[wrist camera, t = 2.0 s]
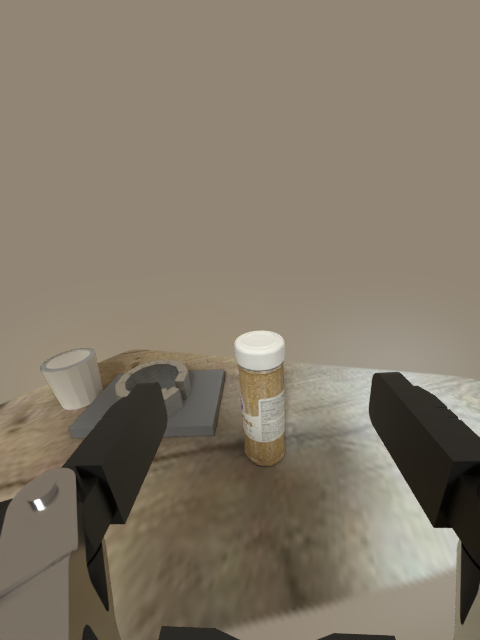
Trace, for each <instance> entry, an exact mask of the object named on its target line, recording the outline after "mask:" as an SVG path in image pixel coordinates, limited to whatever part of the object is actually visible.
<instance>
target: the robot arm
mask: <svg viewBox="0 0 480 640" xmlns="http://www.w3.org/2000/svg"><path fill="white" fill-rule="evenodd" d="M369 415H370V419H371V422H372V425H373V427H374V428H375V430H376V432H377V433H378V435H379V437H380V438H381V440H382V442H383V443H384V445H385V447H386V448H387V450H388V452H389V453H390V455H391V457H392V458H393V460H394V462H395V463H396V465H397V467H398V469H399V470H400V472H401V474H402V475H403V477H404V479H405V480H406V482H407V484H408V485H409V487H410V489H411V490H412V492H413V494H414V495H415V497H416V499H417V500H418V502H419V504H420V505H421V507H422V509H423V510H424V512H425V514H426V515H427V517H428V519H429V520H430V522H431V524H432V526H433V527H434V528H453V530H454V531H455V533H456V534H457V536H458V537H459V541H458V545H457V564H456V595H455V625H454V638H453V640H480V437H479V436H478V435H476V434H475V433H474V432H473V431H472V430H471V429H470V428H469V427H468V426H467V425H466V424H465V423H464V422H463V421H462V420H459V419H458V417H457V416H456V415H455V414H454V413H453V412H452V411H451V410H450V409H449V410H448V409H447V406H445V405H444V404H443V403H442V402H441V401H440V400H439V399H438V398H437V397H436V396H435V395H433V394H431V393H430V392H428V391H426V390H424V389H422V388H421V387H419V386H413V385H412V384H411V383H410V382H409V381H408V380H407V379H406V378H405V377H404V376H403V375H402V374H401V373H399V372H387V373H375V374H374V375H373V378H372V386H371V394H370V402H369ZM167 421H168V416H167V411H166V406H165V402H164V398H163V394H162V390H161V386H160V384H159V383H158V382H146V383H137V384H136V385H135V386H134V388H133V389H132V390H131V392H130V393H129V394H128V396H127V397H122V398H121V399H120V400H118V401H117V402H116V403H114V404H113V405H112V406H111V407H110V408H109V409H108V410H107V412H106V413H105V414H104V415H103V417H102V420H99V422H98V423H97V424H96V425H95V427H94V429H92V430H91V432H90V433H89V434H88V435H87V437H86V438H85V439H84V440H83V442H82V443H81V444H80V445H79V447H78V448H77V449H76V450H75V452H74V453H73V454H72V455H71V457H70V458H69V459H68V460H67V462H66V463H65V464H64V465H63V467H62V468H58V469H54V470H51V471H48V472H46V473H44V474H42V475H40V476H38V477H37V478H35V479H34V480H32V481H31V482H29V483H28V484H27V485H26V486H25V487H23V488H22V489H21V490H20V491H19V492H18V493H17V495H16V496H15V497H14V498H13V499H10V500H6V501H3V502H0V640H121V638H120V634H119V631H118V627H117V623H116V618H115V612H114V604H113V596H112V588H111V581H110V573H109V565H108V557H107V549H106V542H105V539H104V535H105V533H106V531H107V529H108V527H109V525H110V524H125V523H126V520H127V518H128V516H129V514H130V511H131V509H132V507H133V504H134V502H135V500H136V498H137V495H138V493H139V491H140V488H141V486H142V484H143V481H144V479H145V477H146V475H147V472H148V470H149V468H150V465H151V463H152V461H153V459H154V456H155V454H156V452H157V449H158V447H159V445H160V442H161V440H162V438H163V436H164V433H165V431H166V428H167ZM159 640H239V639H237V638H235V637H233V636H230V635H228V634H226V633H224V632H222V631H220V630H218V629H216V628H194V627H170V626H162V627H161V631H160V636H159ZM318 640H396V639H395V636H387V635H362V634H339V633H333V634H331V635H328V636H326V637H323V638H321V639H318Z"/></svg>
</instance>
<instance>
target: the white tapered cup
mask: <svg viewBox="0 0 480 640" xmlns="http://www.w3.org/2000/svg"><path fill="white" fill-rule="evenodd" d="M40 369H41V371H42V373H43V375H44V377H45V378H46V380H47V382H48V384H49V385H50V387H51V389H52V390H53V392H54V394H55V395H56V397H57V399H58V400H59V402H60V404H61V406H62V407H63V408H64V409H66V410H75V409H79V408H83V407H85V406H88V405H90V404H91V403H92V402H93V401H94V400H95V399H96V398H97V397H98V395H99V394H100V393H101V392H102V391H103V387H102V383H101V378H100V373H99V368H98V364H97V359H96V354H95V351H94V350H93V349H89V348H81V349H76V350H70V351H67V352H64V353H61V354H58V355H56V356H54V357H52V358H50V359H48V360H47V361H45V362H44V363H43V364H42V365H41V366H40Z"/></svg>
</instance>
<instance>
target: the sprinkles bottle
mask: <svg viewBox="0 0 480 640" xmlns="http://www.w3.org/2000/svg"><path fill="white" fill-rule="evenodd" d="M235 358H236V362H237V363H238V367H239V368H238V369H239V378H240V395H241V406H242V419H243V429H244V436H245V444H244V448H245V453H246V455H247V457H248V458H249V459H250V460H251V461H252V462H253V463H256V464H258V465H261V466H270V465H274V464H275V463H278V462H279V461H280V460H281V459H282V458H283V457H284V454H285V450H286V446H285V442H284V429H285V396H284V379H283V378H284V376H283V362H284V359H285V344H284V339H283V338H282V337H281V336H280V335H279V334H277V333H274V332H270V331H252V332H248V333H245V334H243V335H241V336H239V337H238V338H237V339H236V341H235Z"/></svg>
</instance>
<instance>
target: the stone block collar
mask: <svg viewBox="0 0 480 640" xmlns="http://www.w3.org/2000/svg"><path fill="white" fill-rule="evenodd" d="M165 380H172V381H174V382H175V385H176V387H172V388H170V389H169V390H167V389H166V388H163V389H161V390H162V394H163V398H164V402H165V406H166V411H167V416H168V419H169V420H170V419H171V418H173V417H174V416H175V415H176V414H177V413H178V412H180V411H181V410H182V409H183V404H182V400H186V399H188V396H189V393H190V391H191V384H190V379H189V373H188V370H187V368H186V366H185V365H184V364H183V363H182V362H179V361H175V360H171V359H170V360H157V361H156V360H155V361H152V362H148V363H145V364H141V365H140V366H137V367H135V368H133V369H131V370H130V371H128V372H126V373H125V374H124V375H123V376H122V377H121V378H120V379H119V380H118V382H117V383H116V384H115V388H116V396H117V399H118V400H120V399H121V398H122V397H127V396H128V394H129V393H130V392H131V390H132V389H133V388H134V386H135V385H136V384H137V383H146V382H157V381H165Z"/></svg>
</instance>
